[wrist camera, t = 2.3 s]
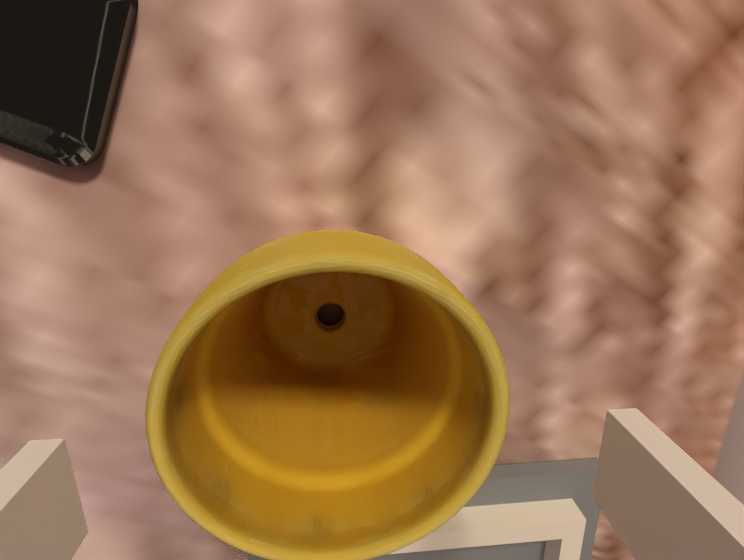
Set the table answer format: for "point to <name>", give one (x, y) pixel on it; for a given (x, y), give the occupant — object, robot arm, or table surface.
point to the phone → (61, 74)
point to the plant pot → (327, 401)
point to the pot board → (518, 517)
